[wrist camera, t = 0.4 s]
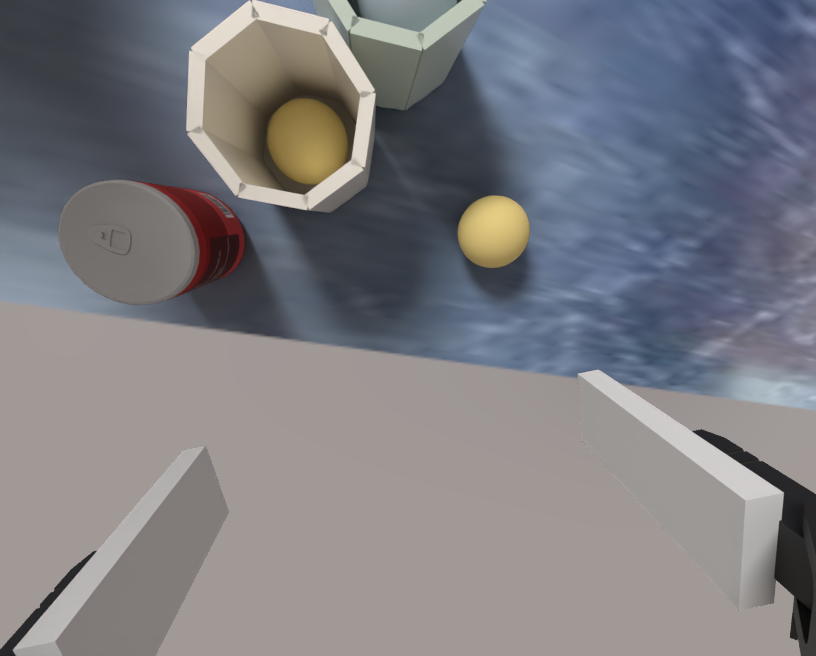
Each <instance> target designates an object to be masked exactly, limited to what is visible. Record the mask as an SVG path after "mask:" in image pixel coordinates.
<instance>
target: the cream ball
mask: <svg viewBox="0 0 816 656" xmlns="http://www.w3.org/2000/svg"><path fill="white" fill-rule="evenodd" d="M267 140H268V147H269V151H270V154H271V157H272V159H273V161H274V162H275V164H276V165H277V167H278V168H279V169H280V170H281V171H282V172H283V173H284V174H285V175H286V176H288V177H289V178H290V179H292V180H294V181H296V182H299V183H302V184H307V185H317V184H320V183H321V182H323V181H324V180H325V179H327V178H328V177H329V176H331V175H332V174H333V173H335V172H336V171H337V170H339V169H340V168H341V167H343V166H344V164H345V162H346V159H347V155H348V137H347V133H346V129H345V127H344V125H343V123H342V121H341V120H340V118H339V117H338V115H337V114H336V113H335V112H334V111H333V110H332V109H331V108H330V107H328V106H327V105H325V104H324V103H322V102H319V101H317V100H314V99H308V98H299V99H294V100H291V101H289V102H287V103H285V104H283V105H282V106H281V107H280V108H279V109H278V110H277V111H276V112H275V113H274V115H273V117H272V119H271V121H270V124H269V127H268V133H267Z"/></svg>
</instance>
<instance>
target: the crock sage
mask: <svg viewBox="0 0 816 656" xmlns="http://www.w3.org/2000/svg"><path fill="white" fill-rule="evenodd" d="M313 2H314V6H315V9H316V13H317V16H320V17H324V18H328V19H329V22H331V21H332V22H333V24H334V25H335V27H336V28H337V30H338V32H339V33H340V35H341V36H342V38H343V40H344V41H345V43H346V44H347V46H348V48H349V49H350V51H351V52H352V54H353V56H354V57H355V59H356V60H357V62H358V64H359V65H360V67H361V68H362V70H363V72H364V73H365V75H366V76H367V78H368V80H369V81H370V83H371V84H372V86H373V88H374V89H375V93H376V104H375V106H379V107H383V108H394V109H398V110H403V111H404V109H405V110H407V109H408V108H410V107H411V106H412V105H414V104H415V103H417V102H419V101H420V100H422V99H423V98H425V97H426V96H427V95H428V94H429V93H430V92H431V91H432V90H434V89H435V88H437V87H438V86H439V85H441V84H442V83H443V82H444V81H445V79H446V77H447V75H448V73H449V71H450V69H451V67H452V66H453V64H454V62H455V60H456V58H457V56H458V54H459V52H460V50H461V48H462V46H463V45H464V43H465V41H466V39H467V37H468V35H469V33H470V31H471V29H472V27H473V26H474V24H475V22H476V20H477V18H478V16H479V14H480V12H481V10H482V8H483V7H484V5H485V3H486V0H457V5H455V6H454V7H453V8H451V9H450V10H449V11H447V12H446V13H445V14H444V15H442V16H441V17H440V18H438V19H437V20H436V21H434V22H433V23H432V24H430V25H429V26H428V27H426V28H425V29H424V30H423V31H421V32H416V31H412V30H408V29H404V28H400V27H396V26H392V25H388V24H384V23H380V22H376V21H372V20H368V19H364V18H360V17H357V16H356V14H355V13H354V11H353V9H352V8H351V6H350V4H349V3H348V1H347V0H313Z"/></svg>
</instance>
